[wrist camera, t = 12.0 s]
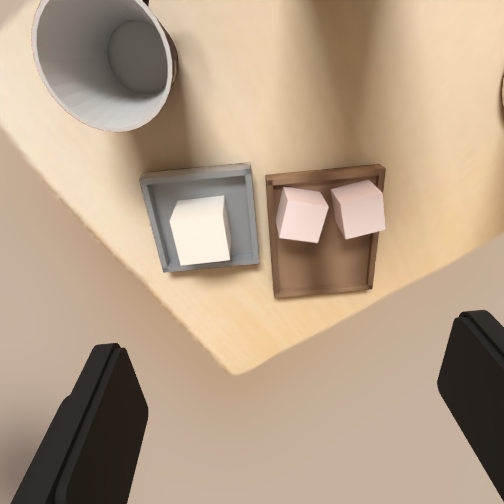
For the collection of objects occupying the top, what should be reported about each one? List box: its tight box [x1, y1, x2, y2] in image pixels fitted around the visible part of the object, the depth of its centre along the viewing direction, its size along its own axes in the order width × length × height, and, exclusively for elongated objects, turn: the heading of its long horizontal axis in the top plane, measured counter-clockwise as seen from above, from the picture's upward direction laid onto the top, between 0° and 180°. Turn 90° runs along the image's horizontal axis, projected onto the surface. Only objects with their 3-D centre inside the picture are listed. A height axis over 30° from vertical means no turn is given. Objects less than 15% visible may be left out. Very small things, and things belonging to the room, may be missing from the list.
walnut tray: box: [266, 164, 386, 298], centre depth 39 cm, size 12×15×2 cm
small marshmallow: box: [276, 186, 329, 243], centre depth 35 cm, size 4×4×4 cm
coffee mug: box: [32, 0, 178, 132], centre depth 26 cm, size 12×9×10 cm
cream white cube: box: [170, 195, 231, 266], centre depth 35 cm, size 5×5×5 cm
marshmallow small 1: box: [331, 179, 385, 239], centre depth 35 cm, size 4×4×4 cm
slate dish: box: [139, 162, 259, 273], centre depth 37 cm, size 11×11×2 cm
